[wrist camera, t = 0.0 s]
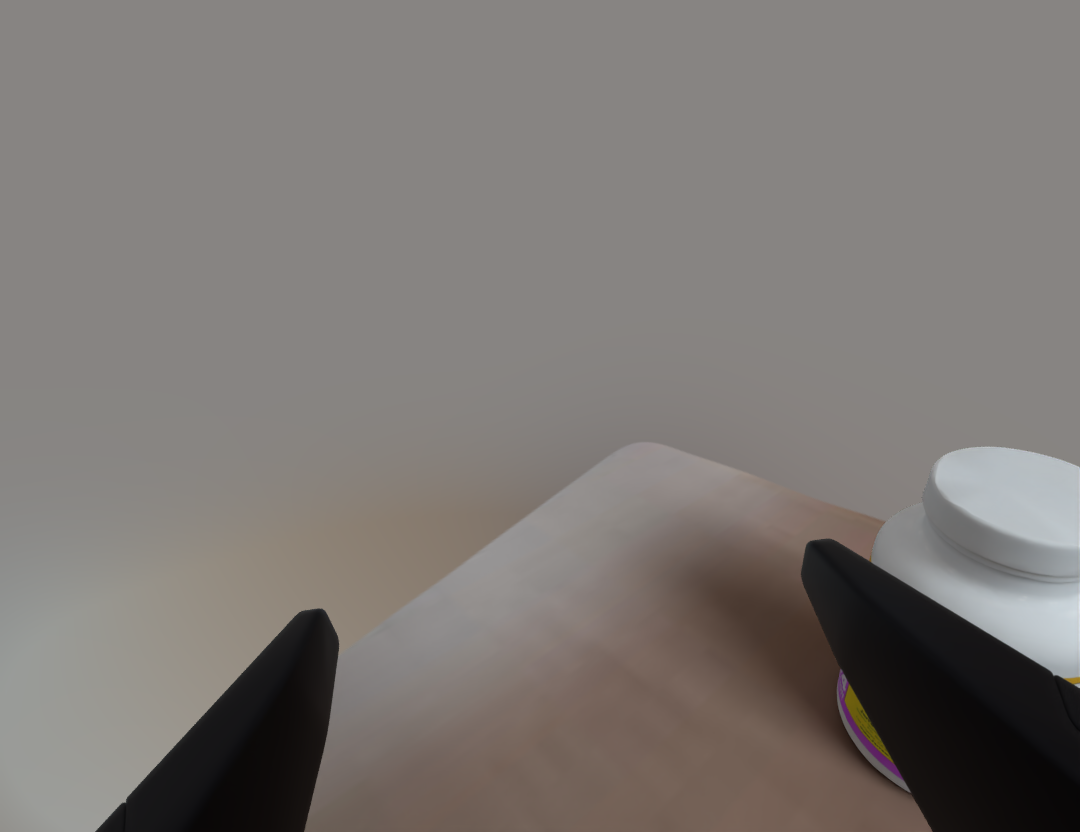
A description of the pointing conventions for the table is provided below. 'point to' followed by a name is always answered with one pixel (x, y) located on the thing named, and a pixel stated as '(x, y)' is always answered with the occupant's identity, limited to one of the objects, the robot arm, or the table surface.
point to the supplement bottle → (988, 562)
